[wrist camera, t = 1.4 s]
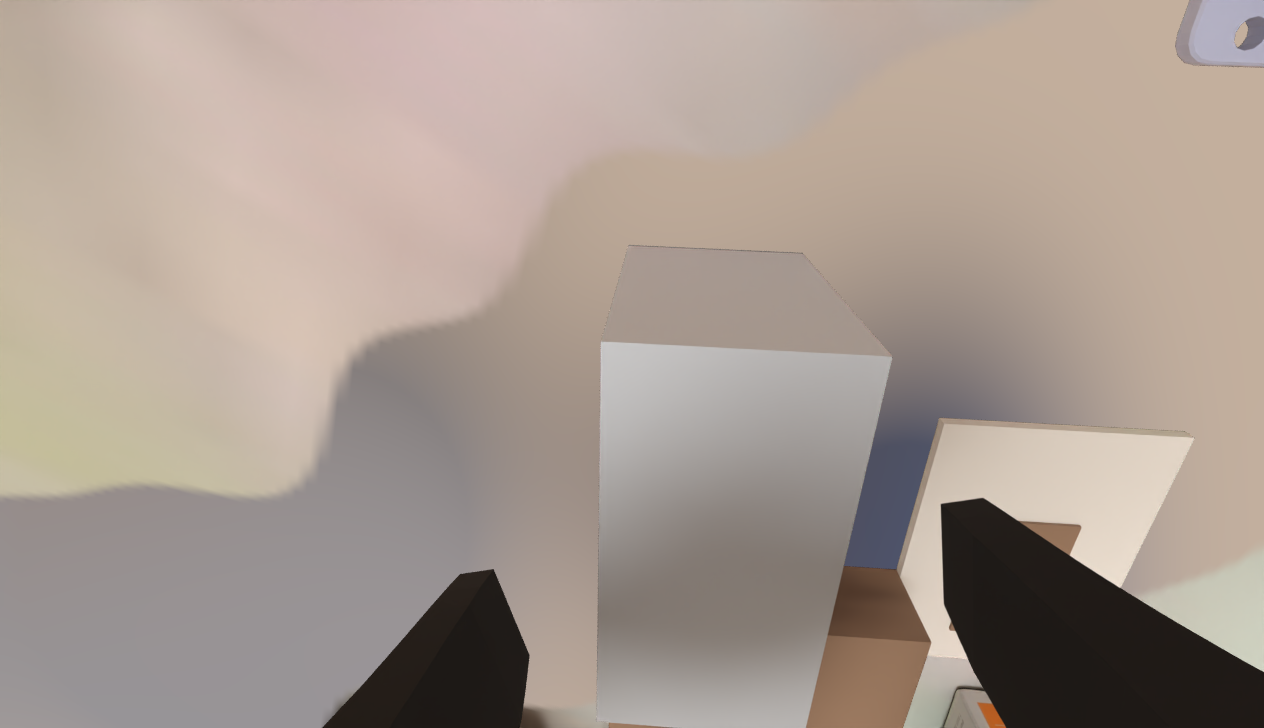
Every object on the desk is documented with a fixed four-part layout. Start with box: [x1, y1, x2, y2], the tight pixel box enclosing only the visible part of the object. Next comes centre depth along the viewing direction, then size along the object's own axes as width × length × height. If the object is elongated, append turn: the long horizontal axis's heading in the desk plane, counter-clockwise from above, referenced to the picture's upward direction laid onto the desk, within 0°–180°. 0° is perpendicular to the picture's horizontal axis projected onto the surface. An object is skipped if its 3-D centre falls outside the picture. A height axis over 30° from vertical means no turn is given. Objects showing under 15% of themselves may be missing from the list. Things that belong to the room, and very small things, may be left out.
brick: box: [596, 245, 893, 728], centre depth 12 cm, size 4×8×6 cm, turn 178°
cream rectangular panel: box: [896, 418, 1195, 659], centre depth 16 cm, size 6×8×1 cm
